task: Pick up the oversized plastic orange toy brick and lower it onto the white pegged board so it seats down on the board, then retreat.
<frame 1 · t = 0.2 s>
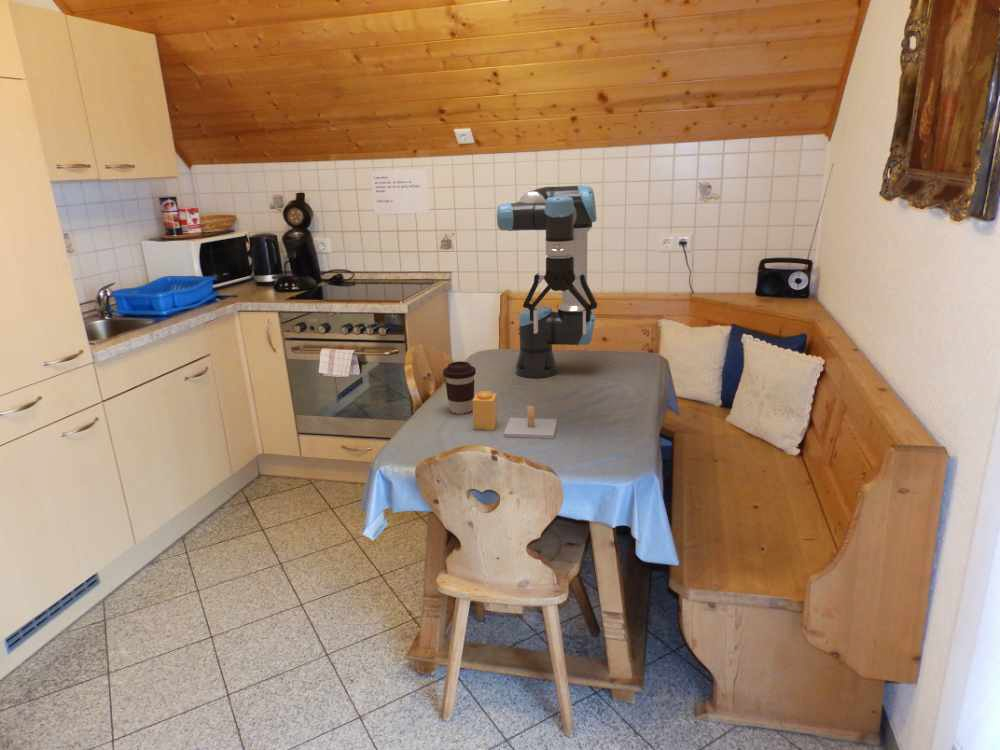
hand: (560, 332, 188), 28 cm above the table, fingers open, 13 cm apart
orange toy brick: (485, 425, 198), on the table
coffee cup: (461, 410, 211), on the table
white pegged board: (531, 429, 194), on the table
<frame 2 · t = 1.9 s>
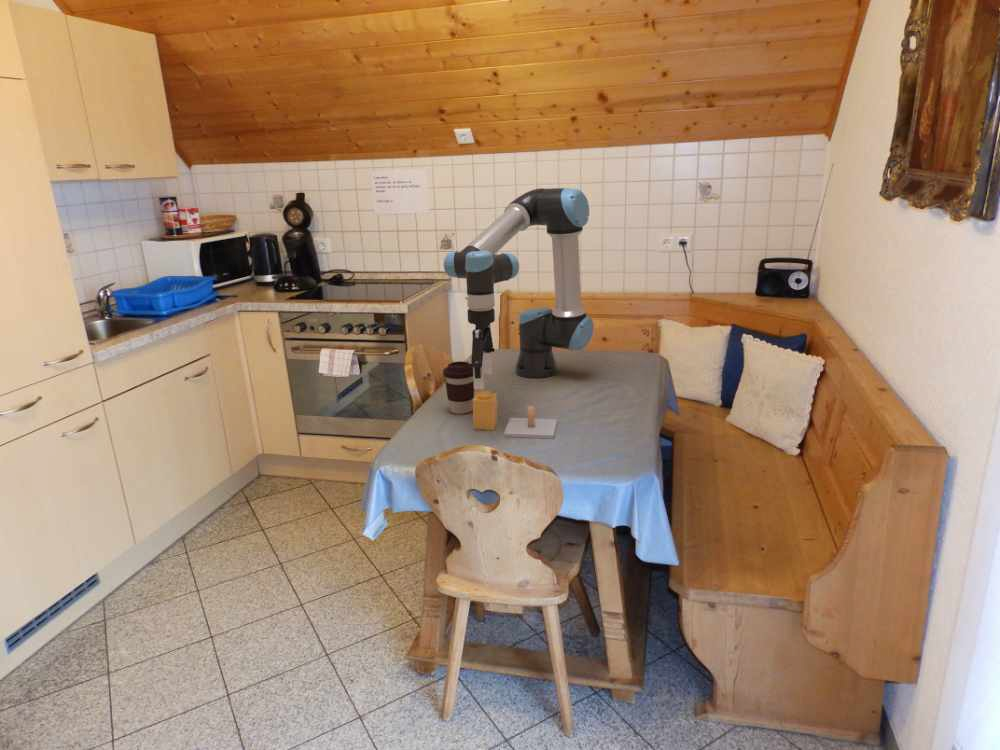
hand: (483, 381, 193), 14 cm above the table, fingers open, 13 cm apart
nothing on the table moved.
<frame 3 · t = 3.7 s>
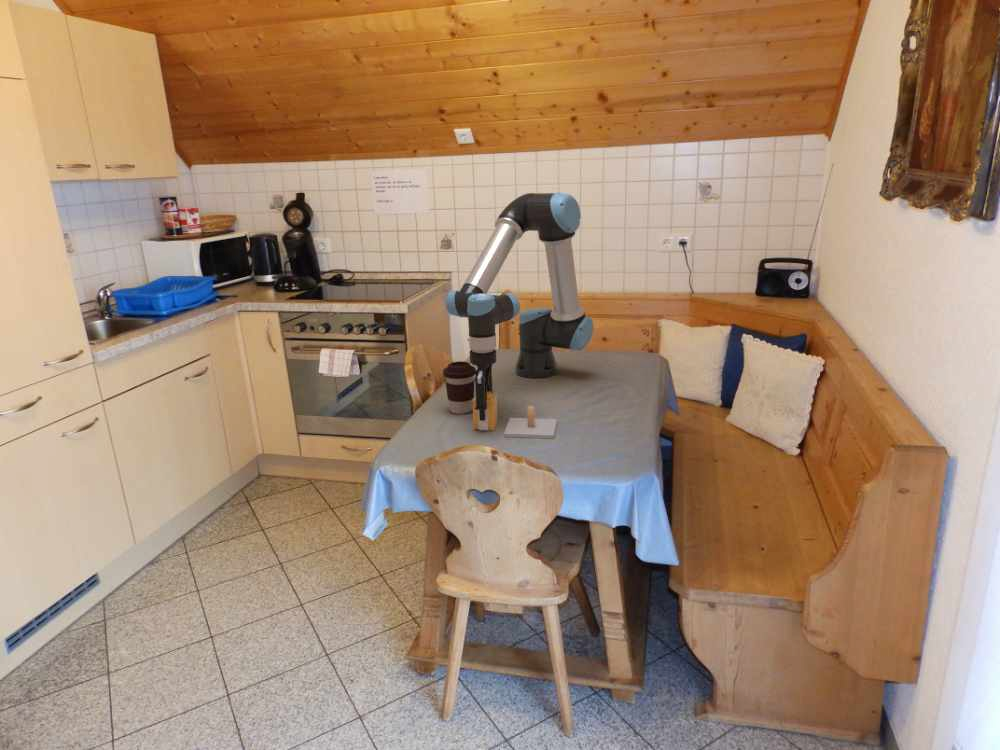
hand: (485, 425, 198), 0 cm above the table, fingers closed on orange toy brick, 6 cm apart
orange toy brick: (485, 426, 198), on the table, touching gripper
everything else where it was.
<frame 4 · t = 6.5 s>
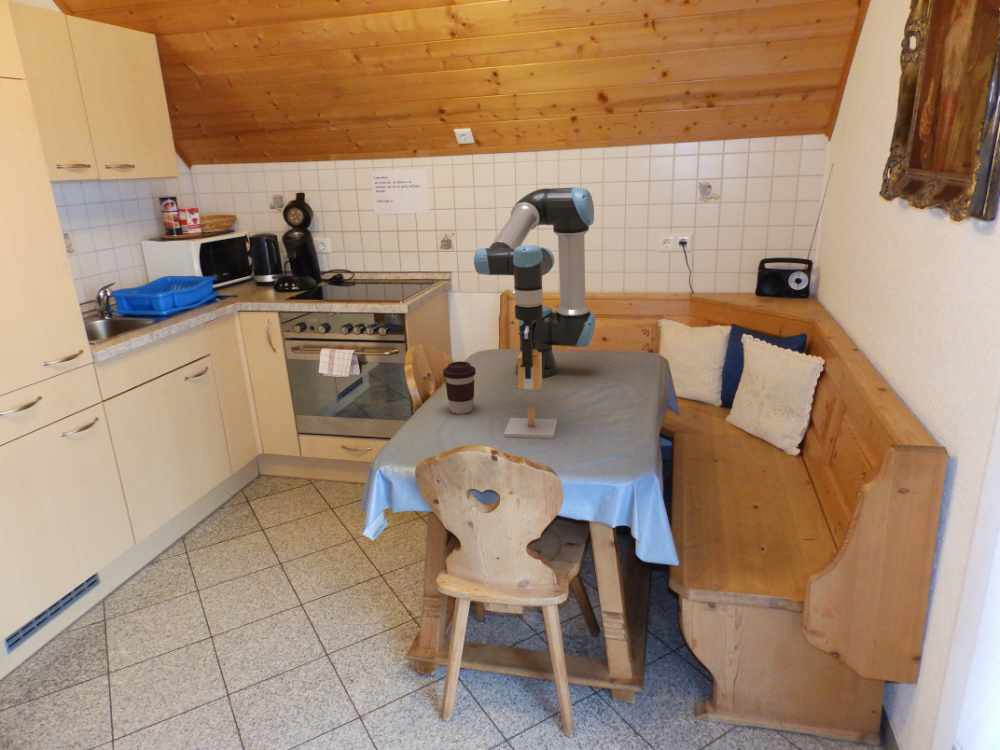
hand: (530, 384, 190), 14 cm above the table, fingers closed on orange toy brick, 6 cm apart
orange toy brick: (530, 385, 190), point 13 cm above the table, touching gripper
everything else where it was.
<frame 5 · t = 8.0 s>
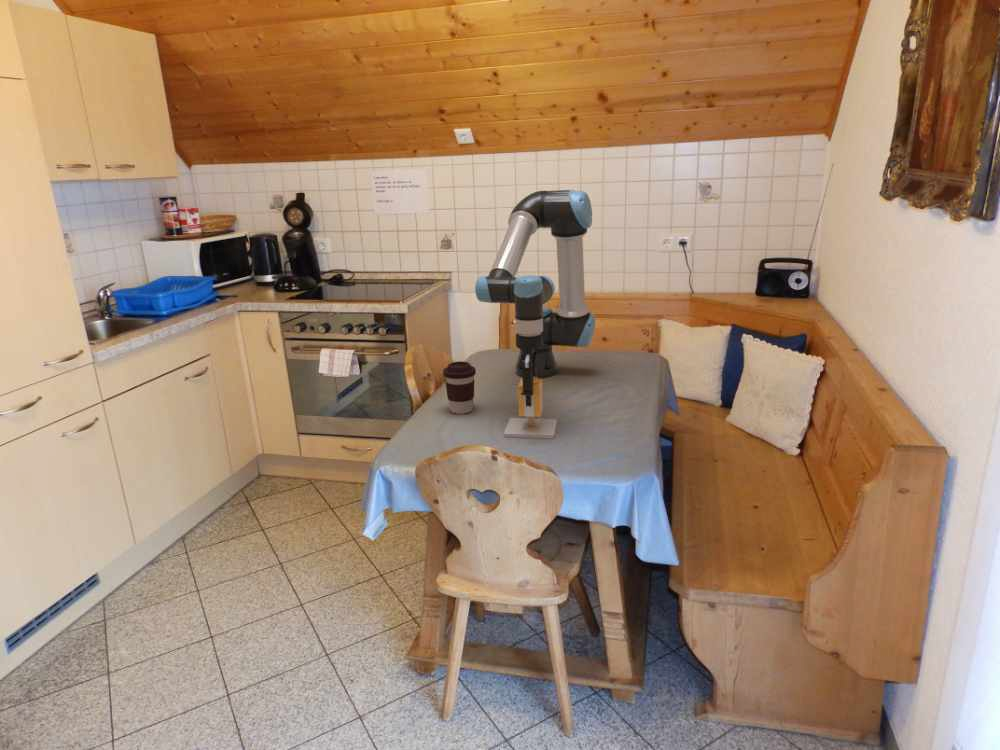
hand: (530, 411, 192), 6 cm above the table, fingers closed on orange toy brick, 6 cm apart
orange toy brick: (530, 412, 192), point 5 cm above the table, touching gripper
everything else where it was.
when the fingers open (3 cm above the table, at t = 9.1 s): orange toy brick drops 2 cm, resting on white pegged board.
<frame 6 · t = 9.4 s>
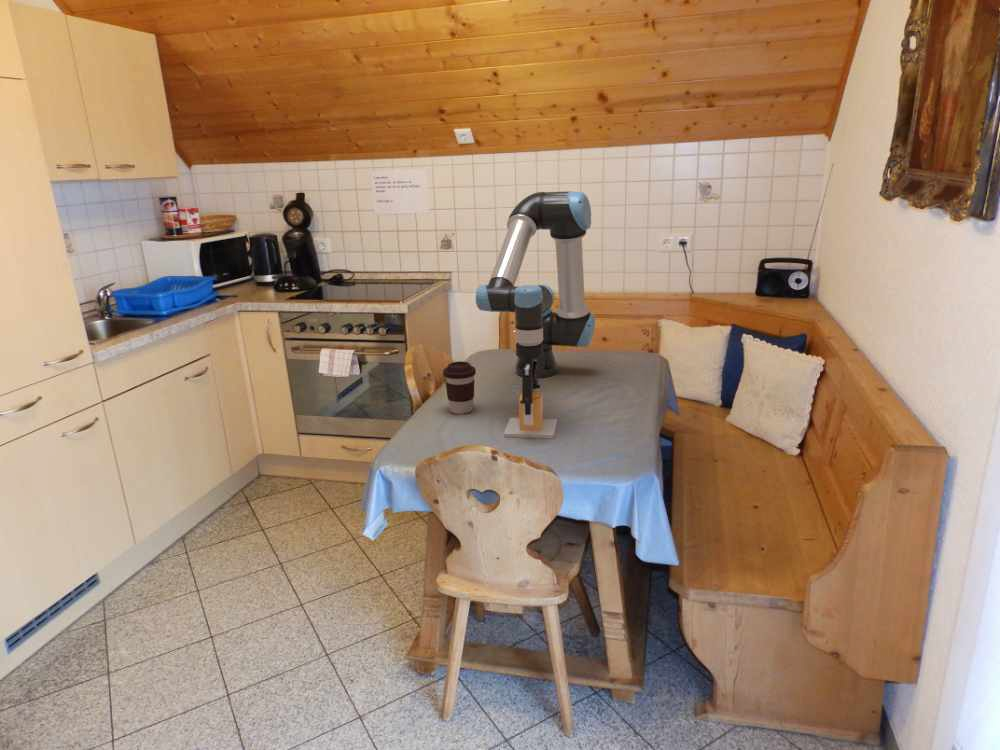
hand: (530, 417, 193), 4 cm above the table, fingers open, 10 cm apart
orange toy brick: (531, 426, 194), point 1 cm above the table, touching white pegged board
everything else where it was.
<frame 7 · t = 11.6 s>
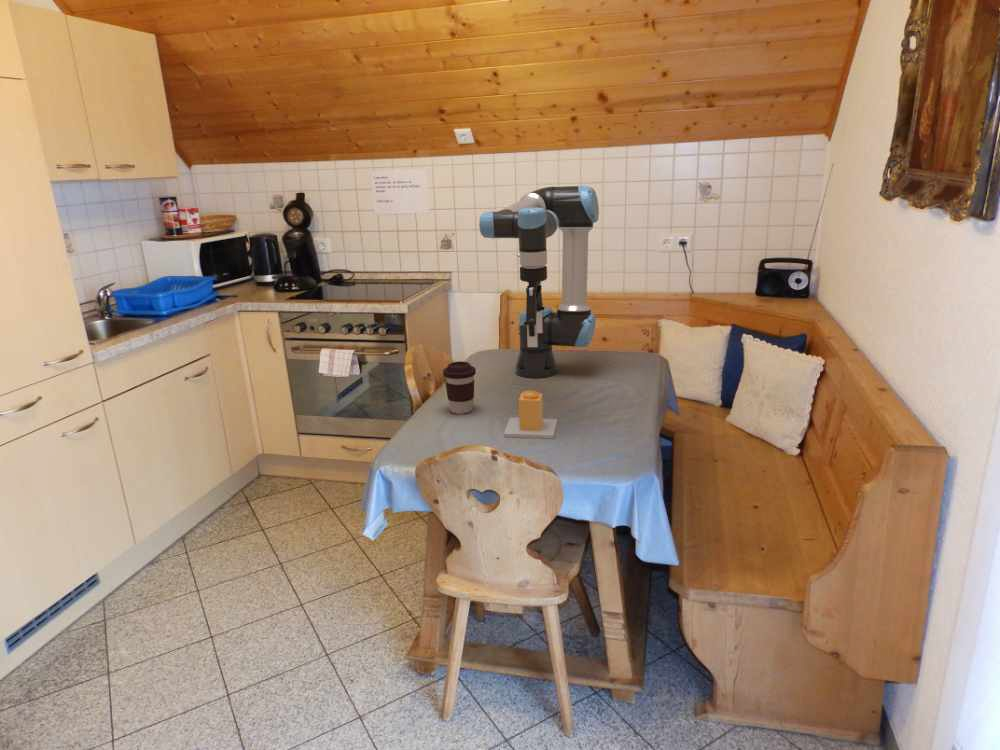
hand: (535, 339, 193), 25 cm above the table, fingers open, 13 cm apart
nothing on the table moved.
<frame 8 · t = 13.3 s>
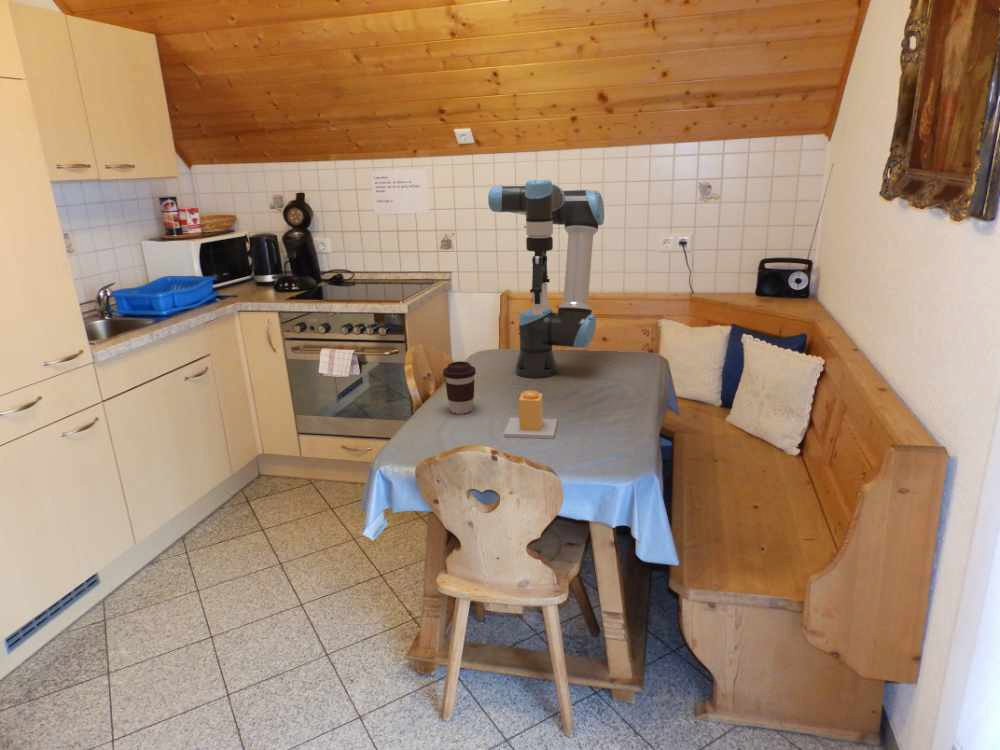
hand: (540, 309, 198), 32 cm above the table, fingers open, 13 cm apart
nothing on the table moved.
at the end: orange toy brick 0.1 cm from the white pegged board (horizontally); orange toy brick point 1.0 cm above the table; orange toy brick tilted 0° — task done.
